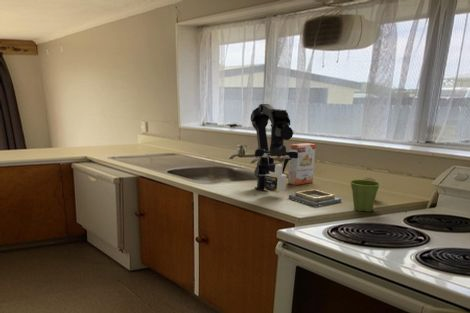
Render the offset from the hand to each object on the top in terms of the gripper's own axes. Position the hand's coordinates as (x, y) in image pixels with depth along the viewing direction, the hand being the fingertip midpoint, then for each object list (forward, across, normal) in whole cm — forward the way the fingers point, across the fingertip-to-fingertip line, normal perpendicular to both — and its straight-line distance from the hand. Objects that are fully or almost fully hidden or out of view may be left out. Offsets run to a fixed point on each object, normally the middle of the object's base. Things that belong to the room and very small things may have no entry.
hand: (275, 172), depth 173 cm
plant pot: (+11, +37, -10) cm, 40 cm away
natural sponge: (+11, +41, +8) cm, 43 cm away
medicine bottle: (+8, 0, 0) cm, 8 cm away
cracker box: (+11, +11, +34) cm, 38 cm away
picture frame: (+11, +18, -1) cm, 21 cm away
